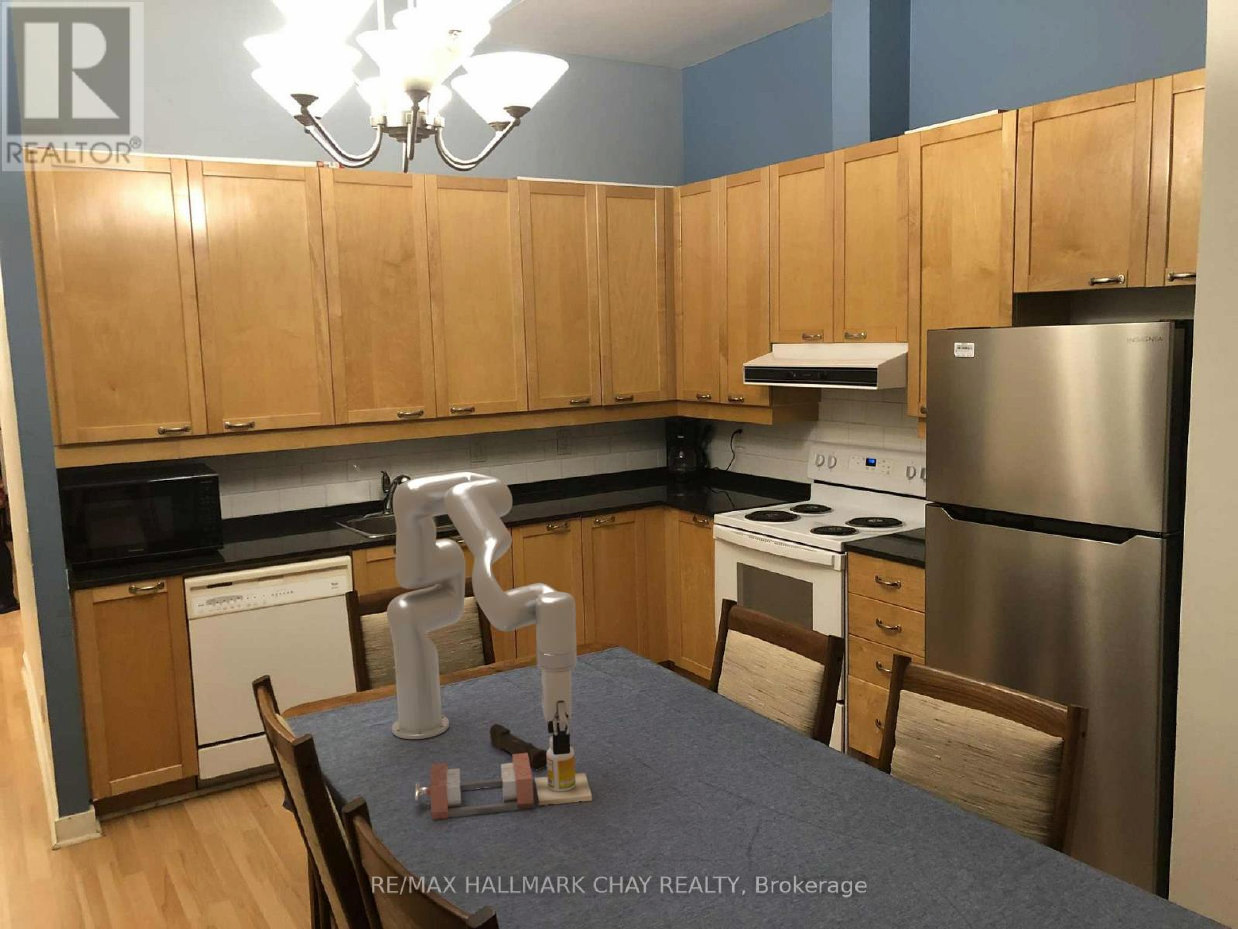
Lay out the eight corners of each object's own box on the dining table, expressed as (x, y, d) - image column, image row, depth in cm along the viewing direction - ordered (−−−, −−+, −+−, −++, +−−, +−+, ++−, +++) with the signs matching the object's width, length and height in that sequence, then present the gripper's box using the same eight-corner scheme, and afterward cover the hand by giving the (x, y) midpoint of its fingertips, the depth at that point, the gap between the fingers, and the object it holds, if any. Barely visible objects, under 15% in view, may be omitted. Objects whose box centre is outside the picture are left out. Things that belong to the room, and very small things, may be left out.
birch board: (534, 782, 202) (534, 778, 201) (585, 777, 203) (584, 772, 203) (539, 806, 192) (539, 801, 192) (591, 800, 193) (591, 795, 193)
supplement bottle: (579, 781, 199) (577, 734, 198) (569, 794, 194) (567, 745, 193) (554, 778, 201) (552, 731, 200) (543, 790, 196) (541, 742, 195)
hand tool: (550, 767, 209) (549, 745, 208) (533, 772, 207) (532, 750, 206) (502, 739, 224) (501, 718, 223) (486, 744, 222) (485, 723, 221)
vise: (417, 793, 199) (415, 763, 198) (528, 781, 202) (527, 752, 201) (415, 821, 187) (413, 790, 187) (533, 808, 191) (532, 778, 190)
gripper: (533, 644, 202) (535, 726, 204) (541, 675, 185) (543, 764, 187) (570, 641, 203) (572, 723, 206) (582, 672, 186) (584, 760, 189)
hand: (558, 742), depth 197 cm, fingers open, 9 cm apart
